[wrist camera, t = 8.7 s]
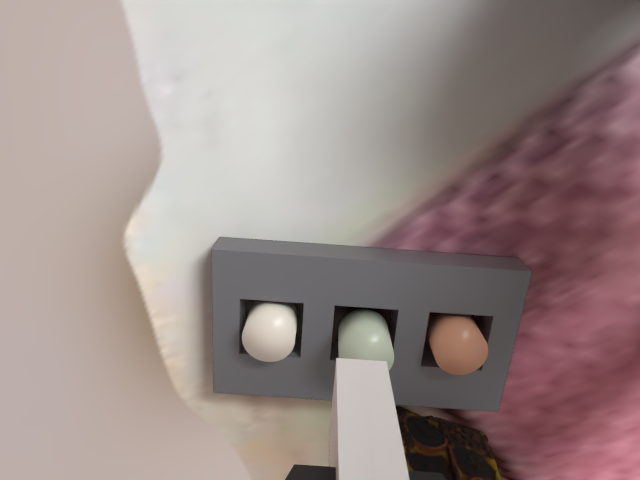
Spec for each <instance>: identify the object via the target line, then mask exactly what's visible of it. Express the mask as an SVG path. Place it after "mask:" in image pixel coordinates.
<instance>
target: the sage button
mask: <svg viewBox="0 0 640 480" xmlns="http://www.w3.org/2000/svg"><path fill="white" fill-rule="evenodd" d="M338 351H339V358H345V359H360V360H374V361H387V366H388V371H389V370H390V369H391V367H392V365H393V362H394V351H393V347H392V342H391V338H390V334H389V329H388V325H387V322H386V320H385V319H384V318H383V317H382V316H381V315H380V314H379V313H377V312H375V311H373V310H369V309H358V310H354V311H352V312H350V313H348V314H347V315H346V316H344V317H343V319H342V320H341V322H340V324H339V327H338Z"/></svg>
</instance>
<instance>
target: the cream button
mask: <svg viewBox="0 0 640 480" xmlns="http://www.w3.org/2000/svg"><path fill="white" fill-rule="evenodd" d="M297 322H298V311H297V308H296V306H295V305H294V303H291V302H277V301H262V300H255V302H254V303H253V304H252V306H251V309H250V312H249V315H248V318H247V321H246V324H245V327H244V330H243V333H242V343H243V346H244V348H245V350H246V351H247V352H248V353H249V354H250V355H251V356H252V357H254V358H255V359H257V360H260V361H264V362H275V361H279V360H282V359H284V358H285V357H287V356H288V355H289V354H290V353H291V351H292V350H293V348H294V345H295V337H296V329H297Z"/></svg>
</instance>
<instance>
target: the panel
mask: <svg viewBox="0 0 640 480" xmlns="http://www.w3.org/2000/svg"><path fill="white" fill-rule="evenodd" d="M531 275H532V271H531V270H530V269H529V268H528V267H527V266H526V265H525V264H524V263H523V262H522V261H521V260H520V259H519V258H516V257H502V256H488V255H473V254H459V253H444V252H430V251H416V250H401V249H387V248H372V247H358V246H344V245H329V244H315V243H301V242H286V241H272V240H257V239H243V238H229V237H219V239H218V240H217V242H216V243H215V245H214V246H213V248H212V317H213V392H214V393H227V394H242V395H257V396H271V397H286V398H301V399H316V400H330V401H332V399H333V388H334V377H335V366H336V358H339V351H338V342H332V331H333V320H334V308H335V306H349V307H364V308H378V309H392V314H391V321H390V329H389V334H390V338H391V342H392V347H393V351H394V362H393V365H392V367H391V369H390V370H389V376H390V381H391V386H392V392H393V397H394V402H395V405H404V406H419V407H433V408H448V409H463V410H477V411H492V412H498V410H499V406H500V402H501V398H502V394H503V390H504V386H505V382H506V378H507V373H508V369H509V365H510V361H511V357H512V353H513V349H514V345H515V340H516V336H517V332H518V328H519V324H520V320H521V316H522V312H523V307H524V303H525V299H526V295H527V291H528V287H529V283H530V279H531ZM245 299H248V300H262V301H277V302H291V303H304V309H303V325H302V340H301V339H295V345H294V348H293V350H292V351H291V353H290V354H289V355H288V356H287V357H285V358H284V359H282V360H279V361H275V362H264V361H260V360H257V359H255V358H254V357H252V356H251V355H250V354H249V353H248V352H247V351H246V350H245V348H244V346H243V343H242V333H243V330H244V327H245ZM430 312H436V313H451V314H465V315H479V320H478V325H477V327H478V328H479V330H480V332H481V333H482V335H483V337H484V339H485V340H486V342H487V345H488V355H487V358H486V360H485V362H484V363H483V364H482V366H481V367H480V368H478V369H477V370H475V371H473V372H471V373H468V374H464V375H454V374H450V373H447V372H445V371H444V370H442V369H441V368H440V367H439V366H438V364H437V363H436V360H435V357H434V355H433V352H432V349H431V348H424V343H425V337H426V331H427V325H428V319H429V313H430Z"/></svg>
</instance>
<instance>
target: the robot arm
mask: <svg viewBox="0 0 640 480" xmlns="http://www.w3.org/2000/svg"><path fill="white" fill-rule="evenodd" d="M285 480H446V478H445V477H444V476H443V474H442V473H434V472H419V471H408V469H407V464H406V459H405V454H404V448H403V443H402V438H401V433H400V428H399V423H398V417H397V412H396V407H395V402H394V397H393V392H392V386H391V381H390V376H389V371H388V366H387V361H374V360H360V359H345V358H336V366H335V377H334V388H333V399H332V410H331V421H330V467H325V466H310V465H295V464H294V466H293V468H292V469H291V471H290V473H289V474H288V476H287V477H286V479H285Z"/></svg>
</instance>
